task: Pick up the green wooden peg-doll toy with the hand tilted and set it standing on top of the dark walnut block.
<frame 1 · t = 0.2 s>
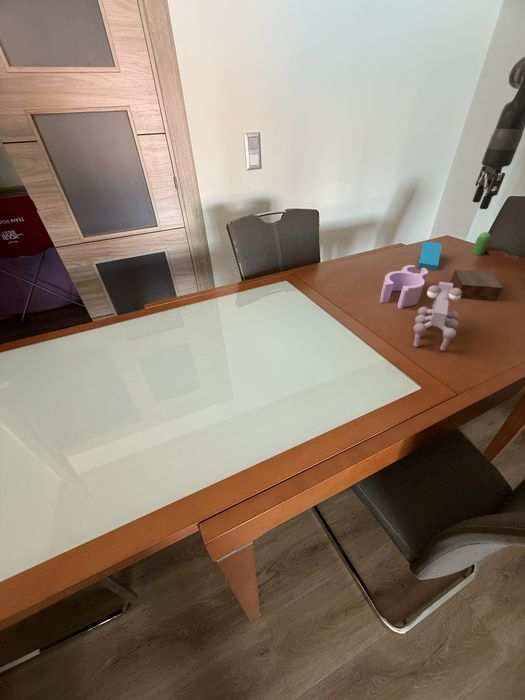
hand: (479, 205, 100), 26 cm above the table, tool pointing down, fingers open, 8 cm apart
green toy: (477, 253, 133), on the table
clip: (402, 294, 108), on the table
mauve bug toy: (430, 332, 91), on the table
walnut block: (471, 291, 108), on the table
blue rectangular brick: (427, 261, 129), on the table
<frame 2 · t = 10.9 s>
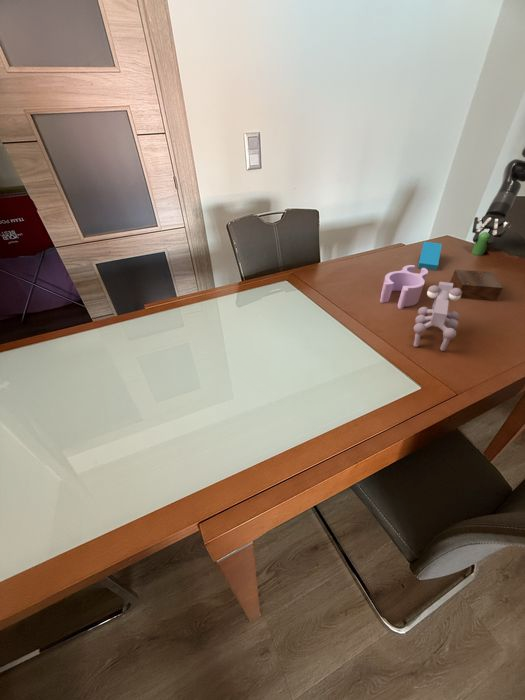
hand: (481, 242, 129), 5 cm above the table, tool tilted 45°, fingers closed on green toy, 4 cm apart
green toy: (477, 253, 133), on the table, touching gripper
everything else where it was.
when the fingers open (10 cm above the table, at t = 20.3 s): green toy stays where it is, resting on walnut block.
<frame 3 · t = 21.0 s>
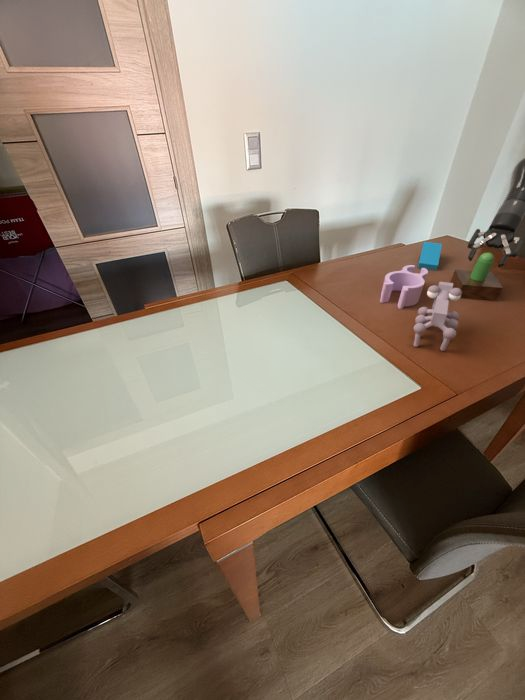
hand: (484, 263, 100), 11 cm above the table, tool tilted 45°, fingers open, 8 cm apart
green toy: (477, 278, 105), point 5 cm above the table, touching walnut block
everything else where it was.
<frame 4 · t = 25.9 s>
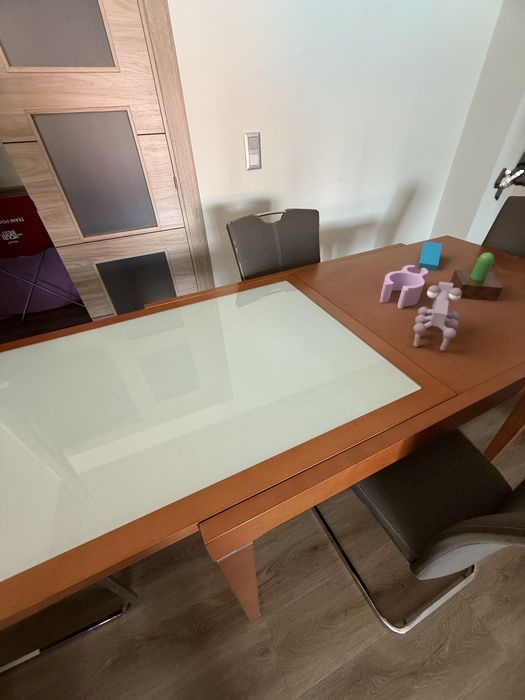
hand: (511, 200, 100), 27 cm above the table, tool tilted 45°, fingers open, 8 cm apart
nothing on the table moved.
at the end: green toy inside the target area on the walnut block (0.1 cm from its centre), point 5.0 cm above the walnut block's base; green toy tilted 0°; the gripper is holding nothing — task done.
